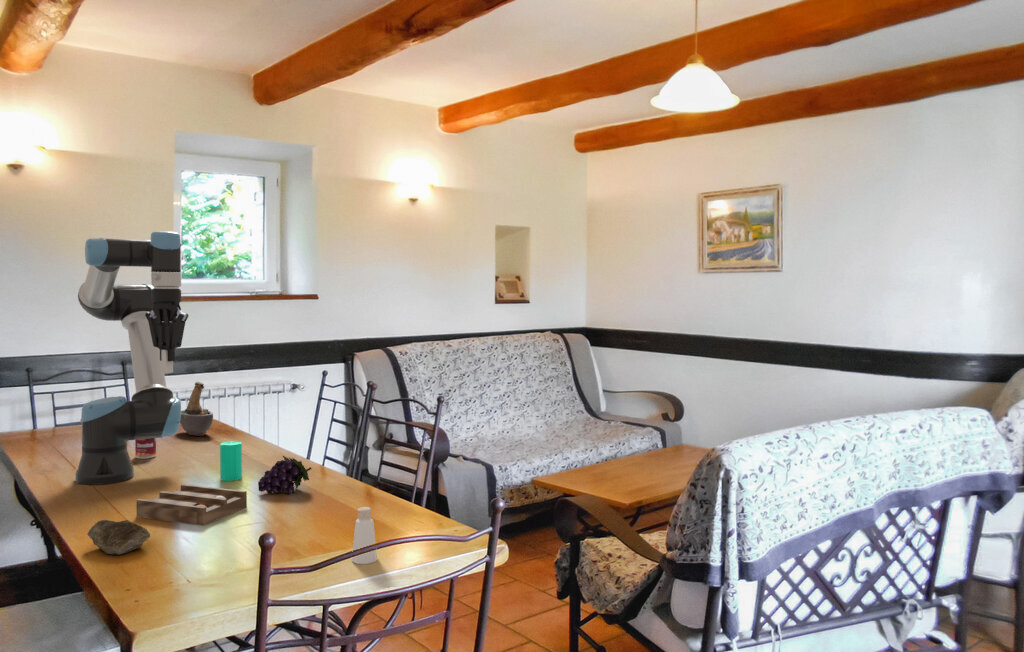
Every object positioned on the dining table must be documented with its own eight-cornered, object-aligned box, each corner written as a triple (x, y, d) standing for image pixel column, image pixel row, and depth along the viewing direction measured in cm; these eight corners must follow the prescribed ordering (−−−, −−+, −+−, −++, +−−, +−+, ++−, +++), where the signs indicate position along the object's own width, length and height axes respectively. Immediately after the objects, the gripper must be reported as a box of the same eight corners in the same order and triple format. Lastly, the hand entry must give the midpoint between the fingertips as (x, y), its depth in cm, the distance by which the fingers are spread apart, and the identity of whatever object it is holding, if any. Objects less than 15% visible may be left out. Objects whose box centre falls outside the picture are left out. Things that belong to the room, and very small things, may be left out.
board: (136, 516, 190) (136, 499, 190) (183, 499, 205) (183, 484, 205) (203, 525, 184) (203, 508, 183) (246, 507, 199) (246, 491, 198)
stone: (75, 542, 166) (97, 507, 170) (102, 555, 171) (123, 522, 175) (112, 553, 160) (134, 517, 164) (139, 567, 165) (160, 532, 169)
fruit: (259, 502, 214) (308, 481, 222) (271, 505, 205) (322, 483, 214) (247, 468, 213) (297, 448, 222) (259, 469, 204) (311, 448, 213)
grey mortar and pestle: (209, 438, 284) (209, 384, 283) (164, 438, 284) (163, 384, 283) (225, 431, 299) (224, 379, 298) (182, 430, 299) (181, 379, 298)
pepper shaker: (346, 562, 161) (346, 510, 160) (360, 554, 166) (360, 503, 165) (368, 566, 159) (368, 513, 158) (382, 557, 164) (382, 506, 163)
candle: (234, 481, 224) (234, 440, 224) (216, 480, 225) (215, 439, 225) (246, 476, 230) (245, 436, 229) (227, 475, 231) (227, 435, 231)
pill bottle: (134, 459, 250) (134, 426, 249) (135, 455, 256) (135, 422, 255) (155, 458, 252) (155, 424, 252) (156, 454, 258) (156, 421, 257)
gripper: (137, 287, 212) (138, 373, 213) (175, 288, 208) (176, 375, 209) (157, 287, 219) (158, 370, 220) (195, 288, 215) (196, 372, 216)
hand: (167, 372), depth 215 cm, fingers closed
